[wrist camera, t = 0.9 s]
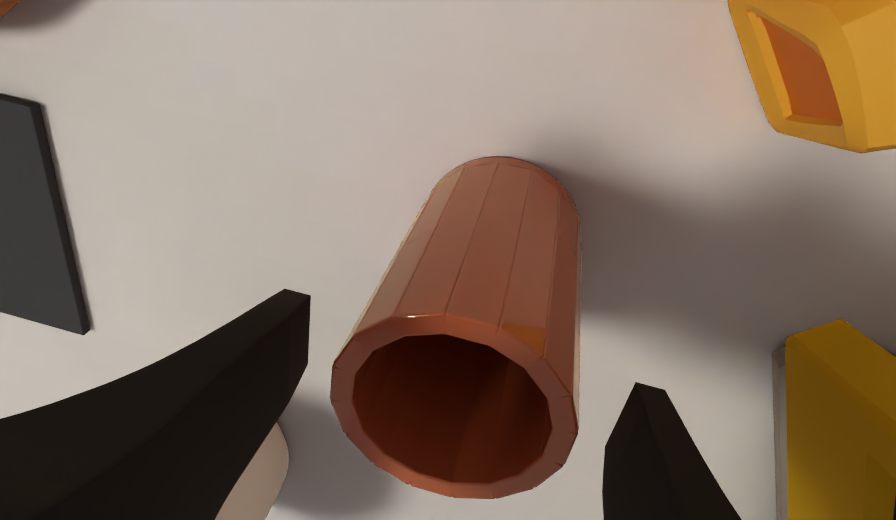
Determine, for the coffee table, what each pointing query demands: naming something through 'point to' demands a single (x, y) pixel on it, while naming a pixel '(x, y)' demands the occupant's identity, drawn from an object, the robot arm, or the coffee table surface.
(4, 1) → the donut
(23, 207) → the mat
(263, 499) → the mug
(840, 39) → the yellow toy drill
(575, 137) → the coffee table surface
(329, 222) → the coffee table surface
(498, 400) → the terracotta cup
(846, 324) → the yellow framed monitor
